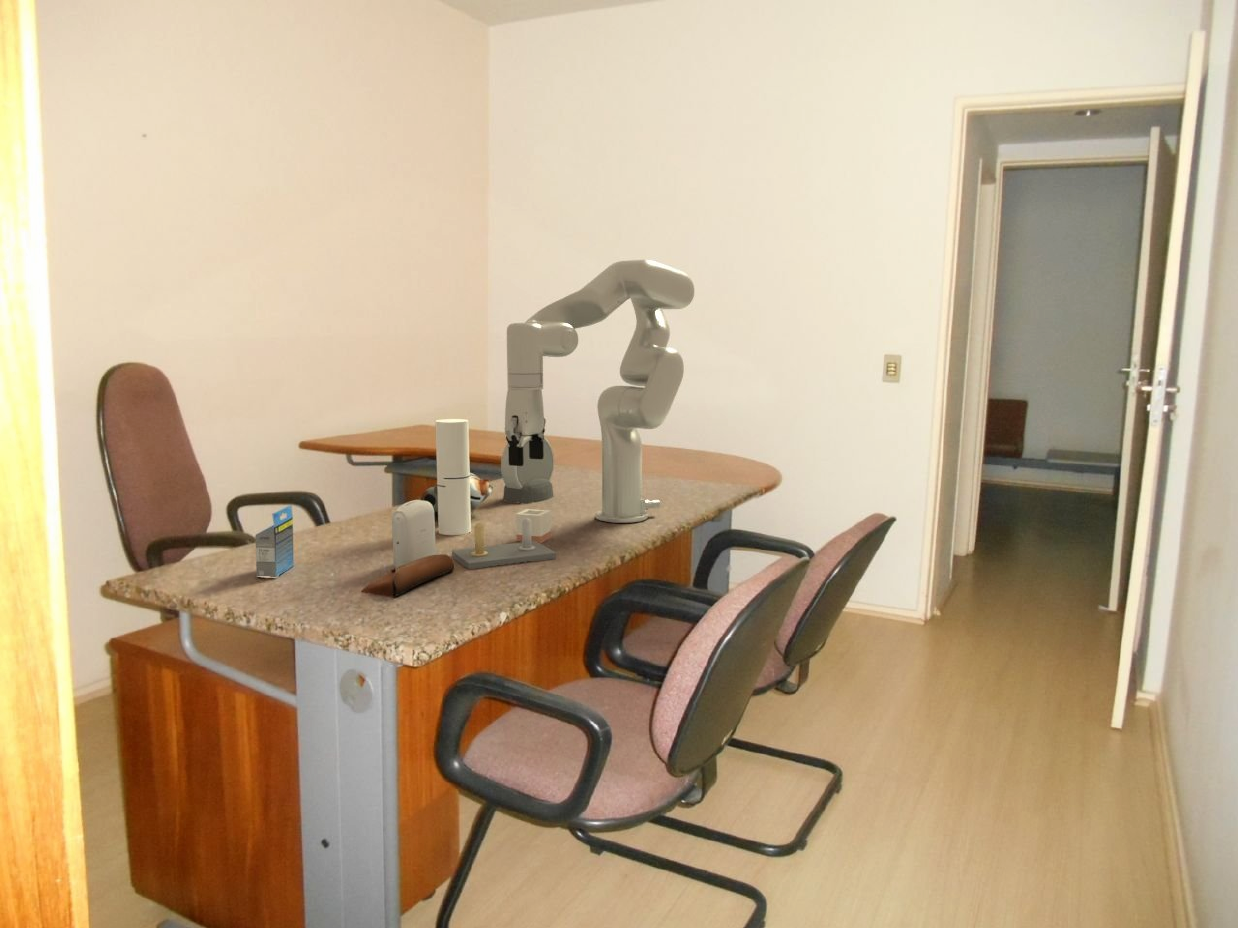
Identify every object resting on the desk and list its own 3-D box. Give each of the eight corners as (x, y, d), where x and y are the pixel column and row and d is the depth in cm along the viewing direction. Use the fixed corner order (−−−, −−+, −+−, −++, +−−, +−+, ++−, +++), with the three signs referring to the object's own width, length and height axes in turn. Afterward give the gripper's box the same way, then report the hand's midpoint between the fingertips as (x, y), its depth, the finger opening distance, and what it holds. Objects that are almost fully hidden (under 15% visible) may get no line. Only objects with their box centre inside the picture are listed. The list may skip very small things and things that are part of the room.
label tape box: (275, 566, 178) (271, 503, 176) (296, 566, 178) (292, 504, 176) (255, 579, 169) (251, 513, 167) (277, 579, 169) (274, 513, 167)
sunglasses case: (417, 567, 177) (431, 539, 175) (444, 588, 176) (459, 561, 173) (357, 592, 161) (371, 562, 159) (386, 616, 159) (401, 586, 157)
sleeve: (527, 535, 203) (526, 508, 203) (550, 537, 202) (550, 510, 201) (516, 541, 198) (516, 514, 197) (540, 543, 196) (540, 515, 196)
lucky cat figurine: (467, 508, 233) (489, 462, 228) (481, 535, 224) (505, 488, 219) (412, 497, 224) (434, 449, 220) (425, 525, 215) (448, 475, 211)
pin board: (535, 546, 194) (534, 511, 193) (555, 558, 184) (555, 521, 183) (451, 556, 186) (450, 519, 185) (468, 569, 176) (467, 530, 175)
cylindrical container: (464, 535, 203) (461, 422, 199) (433, 534, 205) (430, 422, 201) (475, 528, 210) (473, 419, 206) (446, 527, 212) (442, 418, 208)
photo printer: (409, 571, 175) (407, 507, 173) (390, 568, 176) (387, 505, 175) (439, 558, 184) (437, 497, 182) (420, 556, 186) (418, 495, 184)
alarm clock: (534, 491, 255) (533, 426, 252) (562, 496, 249) (562, 428, 247) (493, 501, 242) (492, 432, 240) (522, 505, 236) (521, 434, 234)
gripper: (527, 379, 204) (528, 455, 207) (489, 384, 188) (491, 467, 191) (558, 379, 201) (559, 457, 204) (523, 385, 185) (524, 469, 188)
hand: (526, 462), depth 197 cm, fingers open, 9 cm apart
